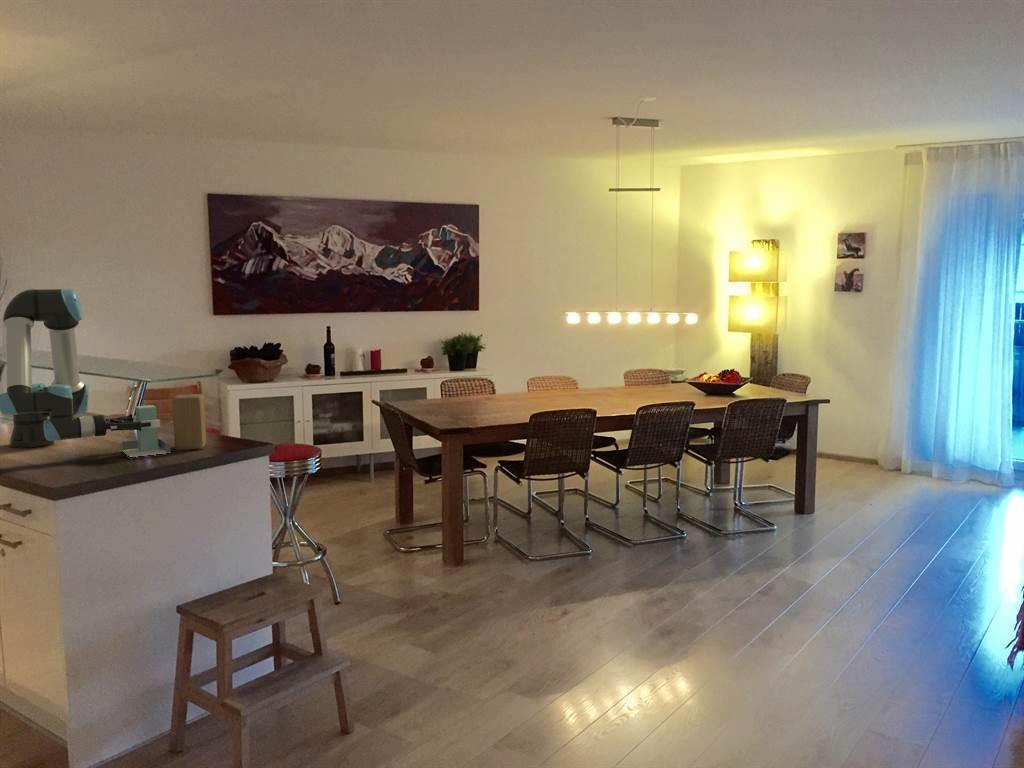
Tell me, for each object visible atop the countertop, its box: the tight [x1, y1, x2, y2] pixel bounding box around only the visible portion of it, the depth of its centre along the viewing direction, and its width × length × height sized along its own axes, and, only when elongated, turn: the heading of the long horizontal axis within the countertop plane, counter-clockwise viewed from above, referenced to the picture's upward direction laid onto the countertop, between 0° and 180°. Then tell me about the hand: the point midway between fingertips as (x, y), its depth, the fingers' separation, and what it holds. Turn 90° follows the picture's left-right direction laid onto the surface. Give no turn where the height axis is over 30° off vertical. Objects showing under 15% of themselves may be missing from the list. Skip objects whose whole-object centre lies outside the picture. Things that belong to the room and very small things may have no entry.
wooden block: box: [171, 393, 207, 451], centre depth 324 cm, size 10×10×20 cm
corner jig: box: [121, 436, 171, 458], centre depth 316 cm, size 14×14×4 cm
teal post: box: [134, 404, 159, 452], centre depth 316 cm, size 6×6×16 cm
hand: (155, 420), depth 318 cm, fingers open, 13 cm apart
